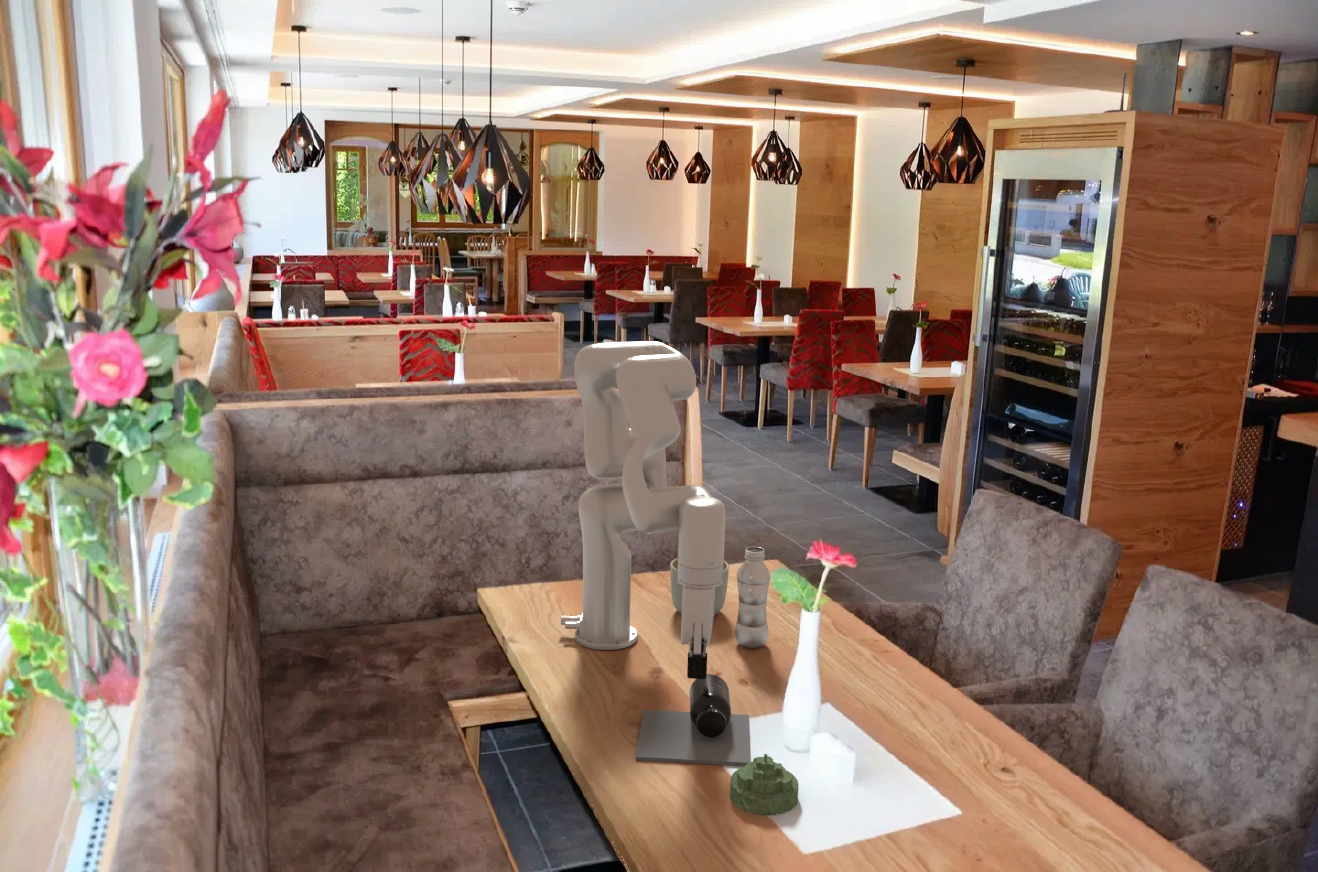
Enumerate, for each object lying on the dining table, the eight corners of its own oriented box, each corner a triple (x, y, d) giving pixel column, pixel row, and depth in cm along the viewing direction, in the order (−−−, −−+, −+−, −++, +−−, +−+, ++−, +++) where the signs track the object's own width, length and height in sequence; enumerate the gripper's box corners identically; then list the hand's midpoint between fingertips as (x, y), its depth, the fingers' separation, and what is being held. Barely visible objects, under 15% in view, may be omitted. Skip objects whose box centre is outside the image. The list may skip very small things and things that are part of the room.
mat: (635, 760, 168) (635, 756, 168) (643, 712, 183) (643, 709, 183) (750, 766, 167) (750, 762, 167) (748, 718, 182) (748, 714, 182)
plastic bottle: (769, 652, 209) (773, 555, 205) (734, 651, 209) (738, 554, 205) (766, 639, 216) (771, 544, 211) (733, 638, 216) (736, 543, 211)
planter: (661, 604, 233) (663, 557, 230) (715, 599, 236) (716, 553, 234) (679, 626, 221) (681, 576, 219) (735, 620, 225) (737, 571, 223)
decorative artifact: (720, 784, 162) (744, 820, 152) (722, 742, 160) (746, 776, 151) (781, 776, 165) (808, 811, 155) (784, 734, 163) (811, 767, 154)
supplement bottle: (681, 685, 183) (682, 717, 171) (715, 665, 182) (718, 696, 171) (702, 716, 184) (704, 750, 173) (736, 697, 183) (740, 730, 172)
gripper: (679, 556, 182) (676, 657, 186) (675, 587, 167) (672, 695, 171) (723, 558, 181) (719, 659, 185) (722, 589, 167) (718, 698, 171)
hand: (696, 676), depth 178 cm, fingers closed
